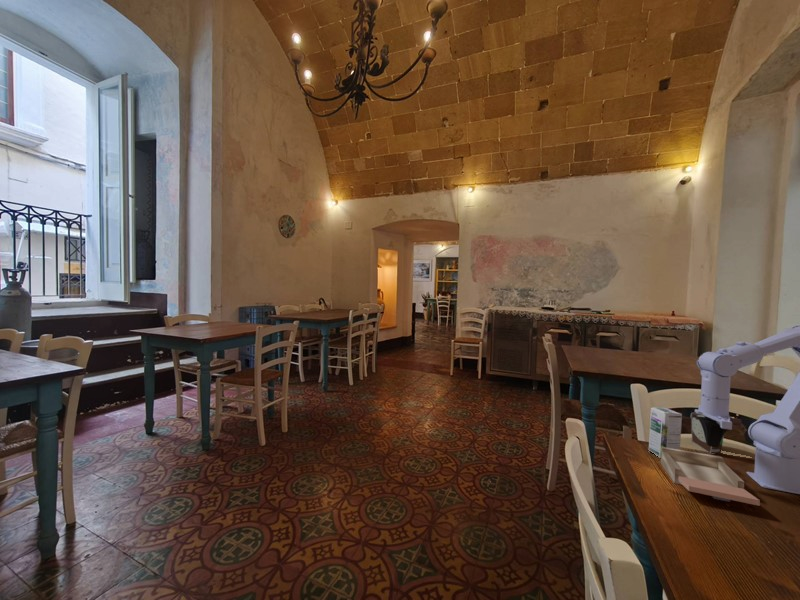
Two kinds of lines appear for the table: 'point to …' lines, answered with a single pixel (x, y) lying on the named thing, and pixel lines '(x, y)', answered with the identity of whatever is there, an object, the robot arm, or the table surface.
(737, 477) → the tray
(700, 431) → the food container
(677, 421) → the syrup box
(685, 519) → the table surface
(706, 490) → the panel
